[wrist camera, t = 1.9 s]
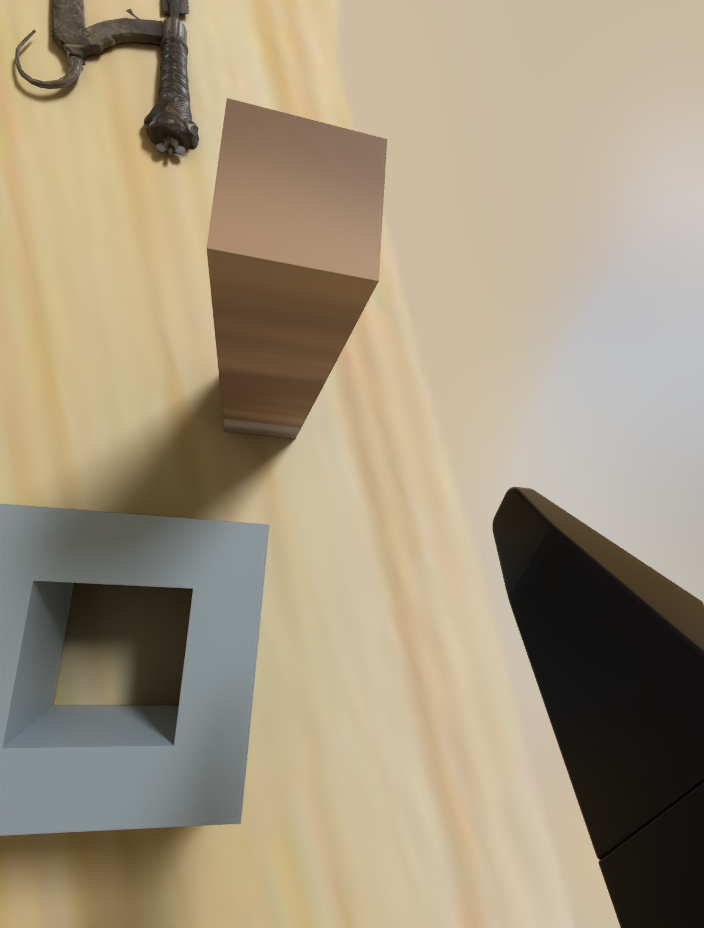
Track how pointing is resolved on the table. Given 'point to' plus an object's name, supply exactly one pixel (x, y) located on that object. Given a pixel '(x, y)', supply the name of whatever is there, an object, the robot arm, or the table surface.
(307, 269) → the tan rectangular block
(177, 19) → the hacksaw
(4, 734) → the holder
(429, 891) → the table surface
